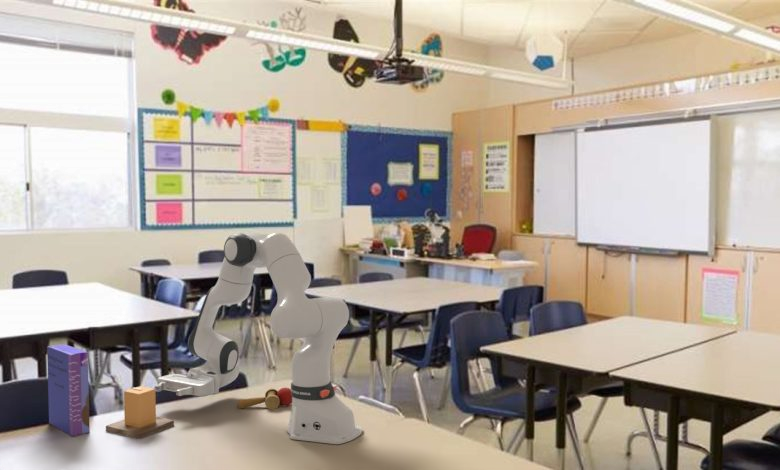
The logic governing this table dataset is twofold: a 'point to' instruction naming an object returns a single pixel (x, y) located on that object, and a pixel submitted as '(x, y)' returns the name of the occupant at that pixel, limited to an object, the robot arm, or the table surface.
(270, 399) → the kendama
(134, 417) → the orange block
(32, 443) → the table surface
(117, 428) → the shaft base
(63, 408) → the cereal box
